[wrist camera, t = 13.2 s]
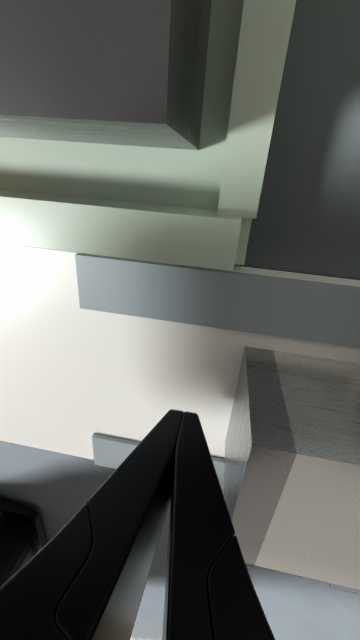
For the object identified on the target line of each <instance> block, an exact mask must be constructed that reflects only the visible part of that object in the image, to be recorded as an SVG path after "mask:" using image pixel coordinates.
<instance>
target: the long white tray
mask: <svg viewBox="0 0 360 640" xmlns="http://www.w3.org/2000/svg"><path fill="white" fill-rule="evenodd" d="M245 346H247V347H253V348H260V349H267V350H273V351H280V352H287V353H294V354H300V355H307V356H314V357H320V358H327V359H334V360H341V361H347V362H354V363H360V280H353V279H344V278H336V277H327V276H319V275H311V274H302V273H294V272H285V271H277V270H268V269H260V268H251V267H243V266H234V271H228V270H220V269H212V268H203V267H195V266H187V265H178V264H170V263H162V262H153V261H145V260H137V259H128V258H120V257H112V256H103V255H95V254H87V253H78V252H70V251H62V250H53V249H45V248H37V247H29V246H20V245H12V244H4V243H0V440H1V441H6V442H10V443H15V444H20V445H25V446H30V447H35V448H39V449H44V450H49V451H54V452H59V453H63V454H68V455H73V456H78V457H83V458H88V459H92V460H94V465H99V466H103V467H108V468H113V469H117V467H118V466H119V465H120V464H121V463H122V462H123V461H124V460H125V459H126V457H127V456H128V455H129V454H130V453H131V452H132V451H133V450H134V449H135V447H136V446H137V445H138V444H139V443H140V442H141V441H142V440H143V439H144V437H145V436H146V435H147V434H148V433H149V432H150V431H151V430H152V429H153V428H154V426H155V425H156V424H157V423H158V422H159V421H160V420H161V419H162V418H163V416H164V415H165V414H166V413H167V412H168V411H169V410H170V409H175V410H181V411H183V412H185V411H187V412H193V413H197V414H198V416H199V419H200V422H201V426H202V429H203V432H204V435H205V438H206V441H207V445H208V448H209V451H210V454H211V457H212V460H213V464H214V467H215V470H216V473H217V476H218V479H219V483H220V486H221V489H222V491H223V492H224V462H225V440H226V435H227V431H228V426H229V421H230V416H231V411H232V407H233V402H234V397H235V392H236V387H237V383H238V378H239V373H240V368H241V363H242V359H243V354H244V349H245ZM329 585H330V587H331V588H336V589H340V590H344V591H348V592H352V593H357V594H360V590H358V589H354V588H349V587H345V586H341V585H336V584H332V583H329Z"/></svg>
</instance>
